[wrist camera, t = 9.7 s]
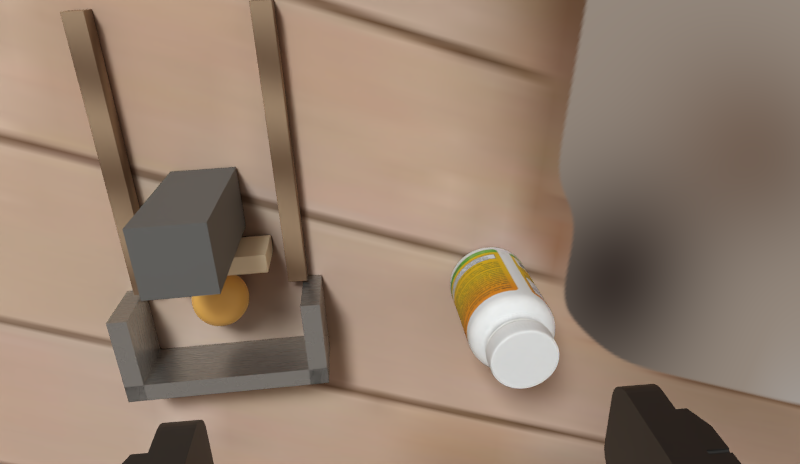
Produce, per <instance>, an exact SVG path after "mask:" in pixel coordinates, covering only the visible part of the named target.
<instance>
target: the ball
mask: <svg viewBox="0 0 800 464" xmlns="http://www.w3.org/2000/svg"><path fill="white" fill-rule="evenodd" d="M248 304H249V291H248V288H247V286H246V284H245V282H244V281H243V280H242V279H241V278H240V277H239V276H238V275H230V276H227V278H226V280H225V283H224V286H223V289H222V291H221V294H216V295H204V296H193V297H192V306H193V309H194V311H195V313H196V314H197V316H198V317H199V318H200V319H201V320H202V321H204V322H206V323H208V324H210V325H214V326H225V325H229V324H232V323H234V322H236V321H237V320H238V319H240V318H241V317H242V316H243V314H244V313H245V311H246V309H247V307H248Z"/></svg>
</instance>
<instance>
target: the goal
mask: <svg viewBox="0 0 800 464" xmlns="http://www.w3.org/2000/svg"><path fill="white" fill-rule="evenodd" d="M300 308H301V315H302V323H303V330H304V336H301V337H290V338H279V339H269V340H258V341H247V342H236V343H225V344H214V345H203V346H193V347H182V348H171V349H160V345H159V341H158V337H157V333H156V329H155V326H154V322H153V318H152V314H151V310H150V306H149V302H148V300H146V301H141V299H140V295H134V292H133V291H128V292H127V293H126V294H125V296H124V297H123V299H122V300H121V302H120V303H119V305H118V306H117V308H116V309H115V311H114V312H113V314H112V315H111V317H110V318H109V320H108V321H107V323H106V325H107V329H108V332H109V336H110V339H111V343H112V346H113V349H114V353H115V356H116V360H117V363H118V367H119V370H120V373H121V377H122V380H123V384H124V387H125V391H126V394H127V398H128V401H129V402H135V401H145V400H155V399H166V398H176V397H186V396H197V395H207V394H217V393H227V392H238V391H248V390H258V389H269V388H279V387H289V386H299V385H310V384H320V383H329V361H330V345H329V336H328V328H327V319H326V310H325V302H324V293H323V284H322V276H321V275H315V276H307V281H303V288H302V296H301V305H300Z"/></svg>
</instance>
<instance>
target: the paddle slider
mask: <svg viewBox="0 0 800 464" xmlns="http://www.w3.org/2000/svg"><path fill="white" fill-rule="evenodd" d="M245 226H246V225H245V219H244V213H243V207H242V201H241V195H240V189H239V183H238V177H237V171H236V167H229V168H215V169H202V170H188V171H174V172H170V173H169V174H168V175H167V177H166V178H165V179H164V180H163V181H162V183H161V184H160V185H159V186H158V187H157V189H156V190H155V191H154V192H153V193H152V194H151V196H150V197H149V198H148V199H147V200H146V202H145V203H144V204H143V205H142V206H141V208H140V209H139V210H138V211H137V212H136V214H135V215H134V216H133V217H132V218H131V219H130V221H129V222H128V223H127V224H126V225H125V227H124V228H123V229H122V230H123V234H124V237H125V241H126V245H127V249H128V253H129V257H130V261H131V265H132V268H133V272H134V276H135V280H136V284H137V288H138V292H139V295H140V299H141V301H146V300H158V299H169V298H181V297H193V296H204V295H216V294H221V291H222V289H223V286H224V283H225V280H226V278H227V276H230V275H241V274H253V273H265V272H268V270H269V266H270V262H271V258H272V254H273V248H272V241H271V235H265V236H253V237H242V234H243V232H244V229H245Z"/></svg>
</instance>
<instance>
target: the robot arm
mask: <svg viewBox="0 0 800 464" xmlns="http://www.w3.org/2000/svg"><path fill="white" fill-rule="evenodd" d="M604 450H605V460H606V464H741V463H740V462H739V460H738V459H737V458H736V457H735V455H734V454H733V453H730V452H729V448H728V446H727V445H726V444H725V443H724V441H723V440H722V439H721V438H720V436H719V435H718V434H717V433H716V431H715V430H714V429H713V427H712V426H710V425H709V424H708V423H706V422H705V421H704V420H702V419H701V418H699V417H698V416H697V415H695V414H694V413H692V412H691V411H690V410H688V409H687V408H685V409H675V407H674V406H673V405H672V403H671V402H670V401H669V399H668V398H667V396H666V395H665V394H664V392H663V391H662V390H661V389H660V387H658V386H657V385H655V384H646V385H634V386H622V387H616V388H615V389H614V391H613V395H612V400H611V407H610V413H609V419H608V426H607V432H606V438H605V447H604ZM122 464H214V463H213V458H212V453H211V449H210V444H209V439H208V435H207V430H206V426H205V423H204V421H203V420H193V421H181V422H169V423H162V424H160V425H159V427H158V429H157V431H156V434H155V436H154V439H153V441H152V444H151V447H150V449H149V452H148V453H143V454H132V455H130V456H129V457H128V458H127V459H126V460H125V461H124V462H123V463H122Z"/></svg>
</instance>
